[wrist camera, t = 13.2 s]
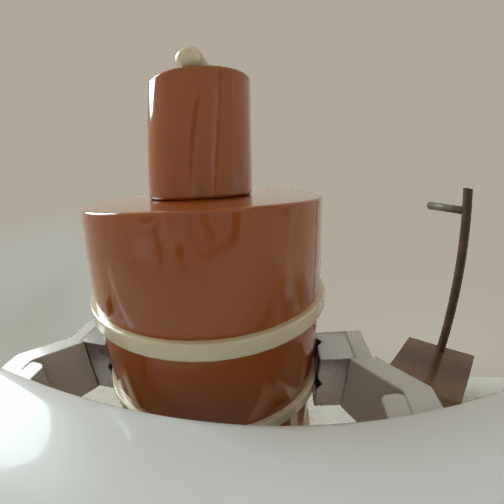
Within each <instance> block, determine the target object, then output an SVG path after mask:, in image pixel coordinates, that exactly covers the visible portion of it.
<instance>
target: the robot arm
mask: <svg viewBox="0 0 504 504" xmlns="http://www.w3.org/2000/svg"><path fill="white" fill-rule="evenodd" d="M314 357H315V358H316V364H315V365H316V371H317V373H316V380H315V386H314V388H313V391H312V394H313V401H314V405H341V407H342V408H343V409H344V410H345V411H346V412H347V413H348V414H349V415H350V416H351V417H352V418H353V419H355V420H356V421H357V422H356V423H344V424H331V425H310V426H260V425H239V424H225V423H214V422H204V421H196V420H188V419H180V418H174V417H167V416H161V415H155V414H150V413H145V412H140V411H135V410H130V409H126V408H121V407H117V406H113V405H109V404H105V403H101V402H97V401H93V400H90V399H86V398H83V397H81V396H83V395H85V394H86V393H88V392H90V391H91V390H93V389H95V388H96V387H98V386H99V385H102V386H107V387H112V388H114V387H113V382H112V368H113V367H112V364H111V361H110V358H109V354H108V351H107V347H106V344H105V340H104V336H103V334H101V332H100V331H99V329H98V328H97V327H96V325H95V322H94V320H91V321H89V322H88V323H87V324H86V325H85V326H84V327H83V328H81V329H80V331H78V332H77V333H76V334H75V335H74V336H73V337H71V338H70V339H64V340H61V341H58V342H55V343H52V344H49V345H46V346H43V347H40V348H37V349H33V350H31V351H27V352H24V353H21V354H18V355H16V356H15V357H14V358H13V359H12V360H10V361H9V362H8V363H7V364H6V365H5V366H4V367H2V368H1V367H0V504H504V390H503V391H501V392H498V393H495V394H492V395H489V396H486V397H482V398H479V399H476V400H472V401H469V402H465V403H462V404H458V405H454V406H450V407H446V408H443V406H442V404H441V402H440V401H439V399H438V397H437V395H436V394H435V392H434V390H433V388H432V387H431V386H429V385H427V384H425V383H423V382H421V381H419V380H418V379H416V378H414V377H412V376H410V375H408V374H406V373H405V372H403V371H401V370H399V369H397V368H396V367H394V366H392V365H390V364H388V363H386V362H385V361H383V360H381V359H379V358H377V357H372V356H371V354H370V352H369V349H368V347H367V345H366V343H365V341H364V339H363V336H362V334H361V332H360V331H358V330H357V331H346V332H345V331H344V332H325V333H316V334H315V344H314Z"/></svg>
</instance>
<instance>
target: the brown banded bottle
mask: <svg viewBox="0 0 504 504" xmlns="http://www.w3.org/2000/svg"><path fill="white" fill-rule="evenodd" d="M175 62H176V64H177V66H178V67H179V68H176V69H171V70H168V71H165V72H162V73H160V74H158V75H156V76H154V77H153V78H152V79H151V80H150V81H149V83H148V97H147V158H148V184H149V193H146V194H139V195H132V196H126V197H119V198H115V199H109V200H105V201H101V202H97V203H93V204H90V205H88V206H86V207H84V208H83V209H82V212H81V214H82V223H83V232H84V239H85V247H86V254H87V261H88V267H89V272H90V278H91V283H92V288H93V294H92V297H91V311H92V315H93V319H94V322H95V325H96V327H97V328H98V329H99V331H100V332H101V334H103V336H104V340H105V344H106V347H107V351H108V354H109V358H110V361H111V364H112V367H113V368H112V382H113V387H114V389H115V392H116V395H117V397H118V399H119V402H120V404H121V405H122V406H123V408H126V409H130V410H135V411H140V412H145V413H150V414H155V415H161V416H167V417H174V418H180V419H188V420H196V421H204V422H214V423H225V424H239V425H260V426H309V413H308V408H307V404H308V398H309V397H310V395H311V393H312V391H313V388H314V386H315V380H316V373H317V371H316V365H315V364H316V358H315V357H314V344H315V334H316V321H317V319H318V317H319V316H320V314H321V311H322V309H323V304H324V295H325V289H324V284H323V282H322V280H321V278H320V263H321V241H322V208H323V207H322V206H323V198H322V196H321V195H319V194H317V193H314V192H309V191H302V190H293V189H279V188H252V147H251V98H250V97H251V92H250V79H249V77H248V76H247V75H246V74H245V73H243V72H241V71H238V70H235V69H232V68H227V67H221V66H210V65H209V64H208V63H207V62H206V60H205V58H204V57H203V56H202V54H201V53H200V52H199V50H198V49H196V48H195V47H191V46H187V47H184V48H182V49H180V50H179V51H178V52H177V54H176V56H175Z"/></svg>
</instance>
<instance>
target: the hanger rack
mask: <svg viewBox="0 0 504 504" xmlns="http://www.w3.org/2000/svg"><path fill="white" fill-rule="evenodd" d="M472 194H473V189H469V188H463V204H462V206H454V205H448V204H441V203H434V202H429V203H428V204H427V207H428V209H432V210H439V211H445V212H452V213H458V214H462V219H461V228H460V238H459V246H458V253H457V260H456V266H455V272H454V278H453V283H452V288H451V294H450V298H449V303H448V307H447V311H446V316H445V320H444V324H443V327H442V331H441V335H440V338H439V342H438V345H434V344H431V343H427V342H424V341H420V340H417V339H414V338H411V337H409V338H408V340H407V341H406V343H405V344H404V346H403V347H402V349H401V350H400V351H399V353H398V354H397V355H396V357H395V358H394V360H393V361H392V362H391V364H390V365H392V366H394V367H396V368H397V369H399V370H401V371H403V372H405V373H406V374H408V375H410V376H412V377H414V378H416V379H418V380H419V381H421V382H423V383H425V384H427V385H429V386H431V387H432V388H433V390H434V392H435V394H436V395H437V397H438V399H439V401H440V402H441V404H442V406H443V408H446V407H450V406H454V405H458V404H461V402H462V399H463V395H464V392H465V389H466V385H467V382H468V378H469V374H470V371H471V367H472V363H473V359H474V356H473V355H469V354H465V353H462V352H458V351H455V350H451V349H448V348H445V347H446V343H447V341H448V337H449V334H450V330H451V326H452V323H453V319H454V315H455V311H456V307H457V302H458V298H459V293H460V289H461V284H462V279H463V273H464V267H465V261H466V255H467V248H468V240H469V231H470V222H471V210H472Z"/></svg>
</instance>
